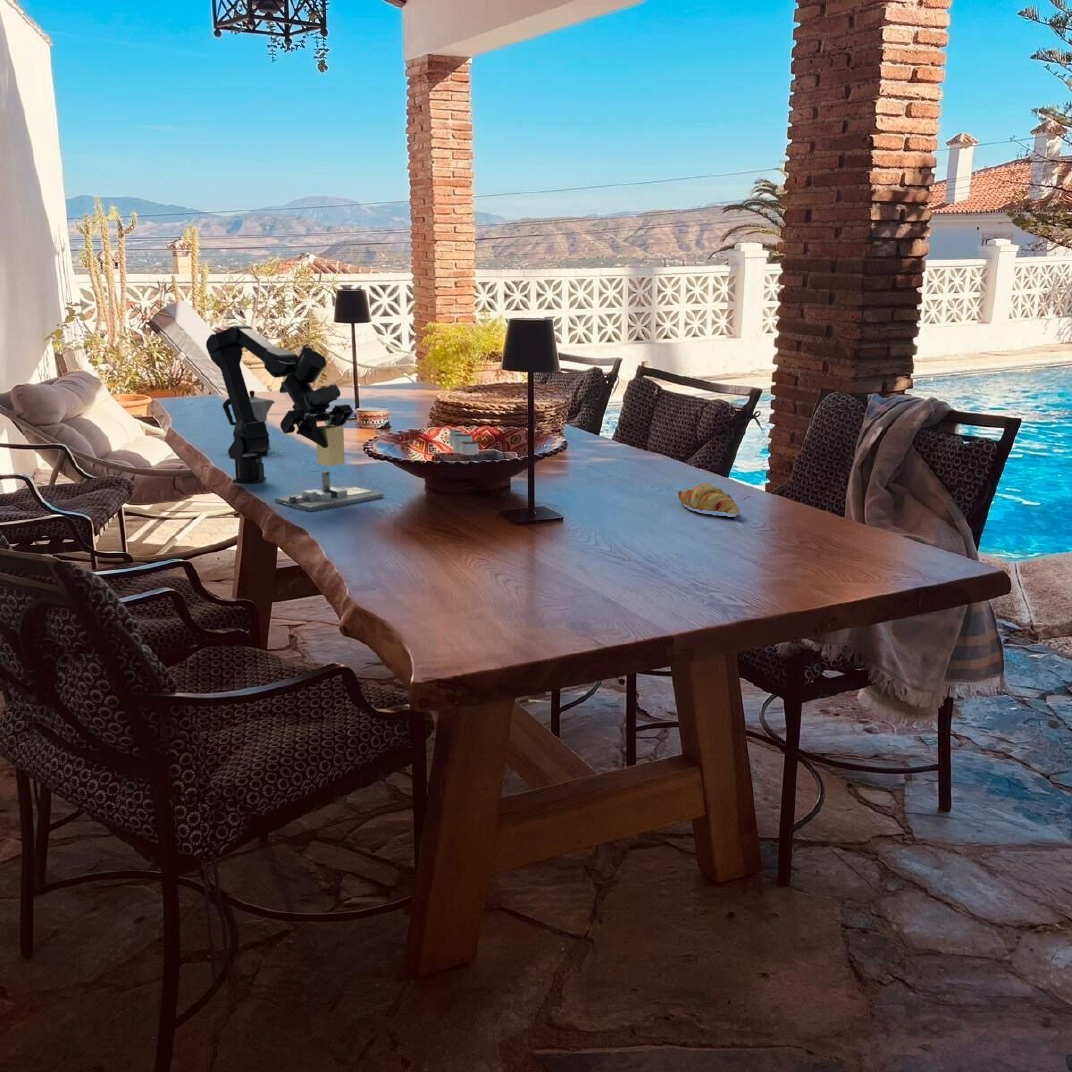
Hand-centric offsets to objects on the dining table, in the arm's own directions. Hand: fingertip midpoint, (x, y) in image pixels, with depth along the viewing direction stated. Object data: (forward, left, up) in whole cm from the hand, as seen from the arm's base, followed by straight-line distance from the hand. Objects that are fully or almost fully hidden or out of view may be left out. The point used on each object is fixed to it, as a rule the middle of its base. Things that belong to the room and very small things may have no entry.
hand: (334, 445), depth 250 cm
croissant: (+87, +21, -14) cm, 91 cm away
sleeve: (-1, +1, -5) cm, 5 cm away
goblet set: (+18, +35, -14) cm, 42 cm away
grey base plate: (-2, -1, -13) cm, 14 cm away
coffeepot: (-58, +56, -14) cm, 82 cm away
